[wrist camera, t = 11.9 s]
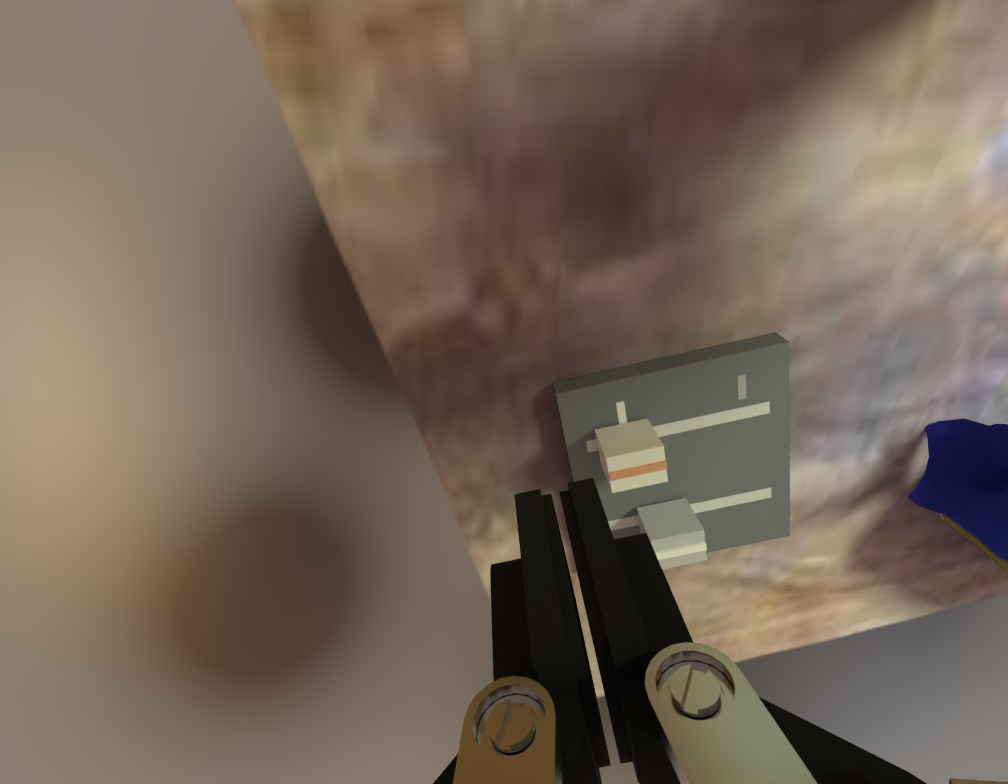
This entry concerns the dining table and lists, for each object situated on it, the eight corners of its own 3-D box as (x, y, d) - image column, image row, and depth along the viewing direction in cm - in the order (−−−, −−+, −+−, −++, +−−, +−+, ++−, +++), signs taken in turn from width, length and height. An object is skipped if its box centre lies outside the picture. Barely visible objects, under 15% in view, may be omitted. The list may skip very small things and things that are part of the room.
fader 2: (685, 497, 44) (705, 531, 41) (688, 526, 46) (707, 562, 42) (636, 507, 45) (651, 542, 41) (641, 536, 46) (655, 572, 42)
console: (775, 332, 41) (789, 341, 39) (778, 520, 49) (790, 536, 47) (552, 382, 42) (556, 394, 40) (589, 559, 50) (593, 575, 48)
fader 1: (647, 418, 41) (664, 447, 37) (651, 451, 42) (669, 483, 39) (594, 429, 41) (606, 459, 38) (600, 462, 43) (612, 494, 39)
